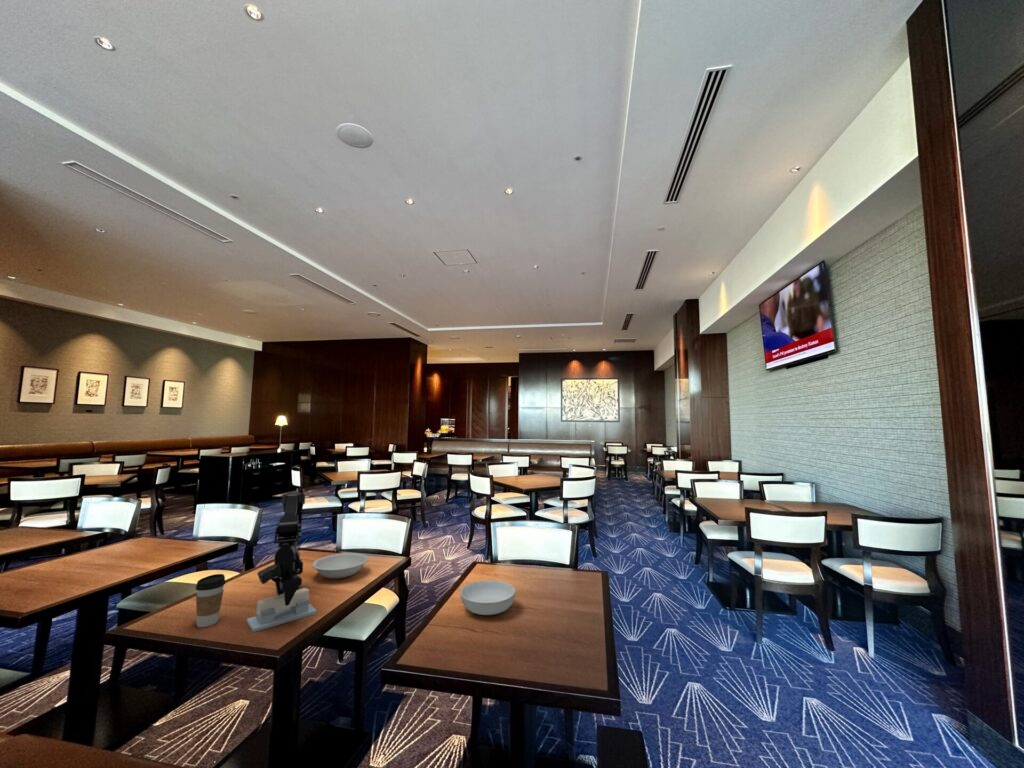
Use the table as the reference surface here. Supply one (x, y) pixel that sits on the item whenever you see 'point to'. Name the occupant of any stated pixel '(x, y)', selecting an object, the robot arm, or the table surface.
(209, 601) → the coffee cup
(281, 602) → the strip
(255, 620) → the rack
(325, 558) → the soup bowl
